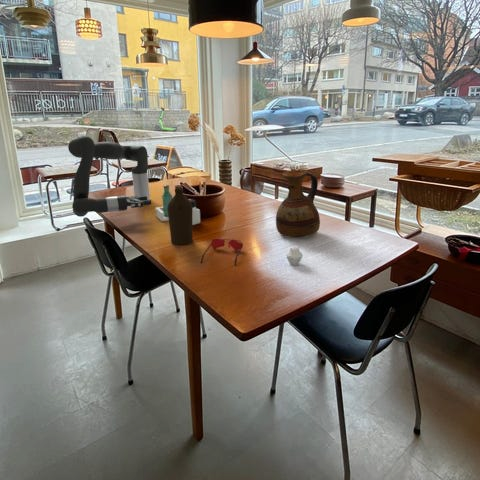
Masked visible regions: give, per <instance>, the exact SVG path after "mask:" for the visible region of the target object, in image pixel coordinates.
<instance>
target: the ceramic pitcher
mask: <svg viewBox="0 0 480 480" xmlns="http://www.w3.org/2000/svg"><path fill="white" fill-rule="evenodd" d="M282 176H283V177H284V178H285V180H287V189H288V194H287V197H285V198H284V199H283V201H281V203H280V205H279V206H278V208H277V211H276V216H275V227H276V230H277V232H278V233H279V234H280V235H282V236H284V237H288V238H297V239H298V238H304V237H309V236H313V235H314V234H315V233H317V232H319V230H320V226H321V219H320V214H319V211H318V209H317V207H316V205H315V204H314V203H315V202H314V201H315V197H316V194H317V191H318V185H319V184H318V183H319V181H318V179H317V177H316V176H315V174H313V173H312V172H309V171H308V170H305V169H293V170H286V171H283V172H282ZM306 177H310V181H311V182H310V184H311V185H310V189H309V192H308V195H304V192H303V186H302V185H303V180H304V178H306Z"/></svg>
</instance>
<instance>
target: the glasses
mask: <svg viewBox="0 0 480 480" xmlns="http://www.w3.org/2000/svg"><path fill="white" fill-rule="evenodd" d="M226 241H228V242H227V243H228V244H227V246H228V248H232V249H233V250H234V251H238V252H237V253H236V255H235V259H234V267H236V266H237V261H238V260H237V259H238V256H239V254H240V252H241V250H242V248H243V247H244V243H242V241H241V240H236V239H230V240H228V239H227V238H226V239H225V238H212V239H211V242H210V244H209V246H207V248H206V250H205V251H204V253H203V254H202V255H201V260H200V264H202V263H203V260H204V257H205V255H206V254H207V252H208V250H209V249H210V247H212V248H213V249H217V248H221V247H224V246H225V242H226Z"/></svg>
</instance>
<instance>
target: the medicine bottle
mask: <svg viewBox="0 0 480 480" xmlns="http://www.w3.org/2000/svg"><path fill="white" fill-rule="evenodd" d="M187 199H188V200H189V201H190V202H191V204H192V226H195V225H198V224H201V210H200V209H199V208H197V202H196V200H195V199H191V198H187Z"/></svg>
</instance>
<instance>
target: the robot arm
mask: <svg viewBox="0 0 480 480" xmlns="http://www.w3.org/2000/svg"><path fill="white" fill-rule="evenodd" d="M67 148H68V152H69V153H70V154H71V155H72V156H73V157H75V158H78V159H80V161H79V165H78V168H77V169H76V172H75V174H74V177H73V187H72V188H73V190H72V192H73V199H72V201H73V202H72V204H71V205H72V208H71V209H72V212H73V214H74V215H75V216H77V217H80V218H81V217H85V216H87V214H88V213H91V212H93V213H94V212H95V213H97V214H101V213H102V214H103V213H115V212H122V211H123V212H124V211H127V210H128V207H130V208H131V209H135V208H143V207H144V206H149V205H152V200H151V196H150V186H149V183H150V182H149V174H148V168H149V157H148V155H149V154H148V150H147V148H146V147H145V146H143V145H133V144H132V145H121V144H120V143H117V142H114V141H113V142H112V141H99V142H94V140H93V139H92V137H90V136H88V135H84V136H80V137H77V138H74V139H72V140H71V141H70V142H69V143H68V145H67ZM94 158H97V159H106V160H120V159H122V160H123V159H124V160H128V161H132V162H137V164H136V166H134V167H131V179H132V184H133V185H132V186H133V187H132V188H133V195H132V196H126V195H125V194H124V195H123V194H122V195H114V196H107V197H100V198H90V197H89V193H90V179H91V178H90V177H91V170H92V167H93V160H94Z"/></svg>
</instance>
